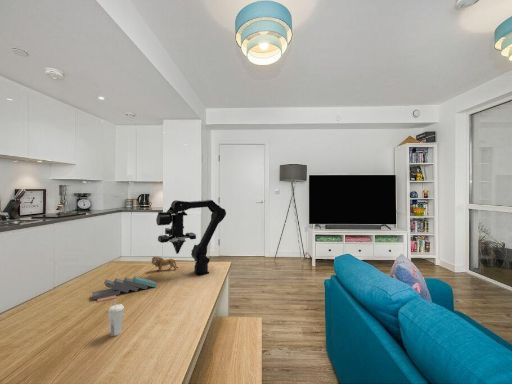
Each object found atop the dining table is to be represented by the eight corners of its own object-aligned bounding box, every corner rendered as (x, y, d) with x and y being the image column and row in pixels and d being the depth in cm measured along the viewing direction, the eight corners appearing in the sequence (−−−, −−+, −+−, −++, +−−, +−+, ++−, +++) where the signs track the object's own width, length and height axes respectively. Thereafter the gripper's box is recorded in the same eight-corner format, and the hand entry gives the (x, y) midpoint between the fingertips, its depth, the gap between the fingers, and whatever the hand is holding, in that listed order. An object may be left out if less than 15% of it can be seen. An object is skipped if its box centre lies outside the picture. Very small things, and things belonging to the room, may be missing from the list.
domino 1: (118, 286, 114) (92, 292, 108) (120, 290, 110) (93, 296, 104) (118, 290, 114) (92, 295, 108) (120, 294, 110) (93, 299, 104)
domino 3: (136, 284, 119) (115, 278, 114) (138, 288, 115) (117, 281, 109) (134, 288, 118) (113, 281, 113) (136, 291, 114) (115, 285, 109)
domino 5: (154, 281, 124) (134, 276, 118) (157, 284, 120) (136, 279, 114) (152, 284, 123) (132, 279, 118) (155, 287, 119) (135, 282, 114)
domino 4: (145, 282, 121) (125, 277, 116) (148, 286, 117) (127, 280, 112) (143, 286, 121) (123, 280, 115) (146, 289, 117) (125, 283, 111)
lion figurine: (152, 274, 138) (152, 257, 138) (151, 271, 143) (151, 255, 143) (179, 270, 145) (179, 254, 145) (177, 267, 150) (177, 252, 150)
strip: (113, 290, 115) (113, 289, 115) (116, 298, 107) (116, 297, 107) (95, 294, 111) (95, 293, 111) (97, 302, 103) (97, 301, 103)
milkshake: (119, 327, 85) (119, 297, 85) (126, 332, 82) (126, 302, 81) (104, 332, 81) (104, 302, 81) (111, 339, 78) (111, 307, 78)
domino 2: (127, 285, 116) (106, 279, 111) (129, 289, 112) (107, 282, 107) (125, 289, 116) (103, 282, 111) (127, 292, 112) (105, 286, 107)
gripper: (188, 221, 144) (188, 248, 144) (155, 223, 133) (154, 252, 133) (196, 223, 135) (196, 252, 135) (161, 226, 124) (161, 257, 124)
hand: (177, 253), depth 132 cm, fingers closed
